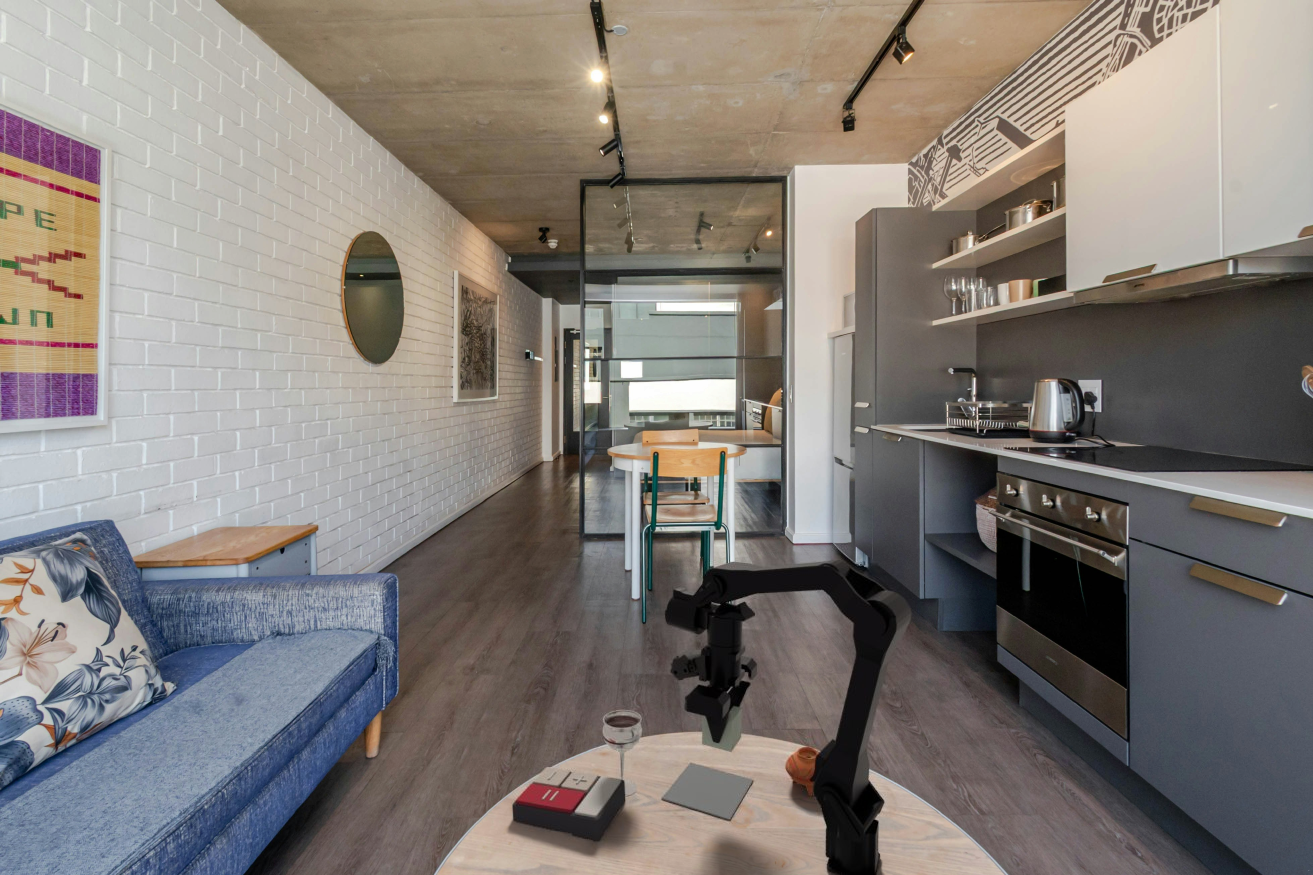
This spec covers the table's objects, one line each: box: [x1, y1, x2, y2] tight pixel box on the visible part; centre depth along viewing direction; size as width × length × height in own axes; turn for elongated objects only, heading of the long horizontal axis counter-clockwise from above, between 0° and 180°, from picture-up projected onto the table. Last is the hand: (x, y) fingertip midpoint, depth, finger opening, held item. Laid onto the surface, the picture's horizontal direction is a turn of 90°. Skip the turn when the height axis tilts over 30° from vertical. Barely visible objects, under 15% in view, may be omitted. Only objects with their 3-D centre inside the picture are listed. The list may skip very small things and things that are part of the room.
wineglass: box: [602, 709, 643, 797], centre depth 105 cm, size 7×7×12 cm
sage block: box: [701, 706, 743, 753], centre depth 100 cm, size 5×5×5 cm
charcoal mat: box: [661, 762, 754, 821], centre depth 105 cm, size 12×12×1 cm
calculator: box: [512, 766, 626, 843], centre depth 99 cm, size 11×4×15 cm
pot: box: [784, 746, 820, 797], centre depth 106 cm, size 8×8×7 cm
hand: (721, 734), depth 100 cm, fingers closed on sage block, 5 cm apart
